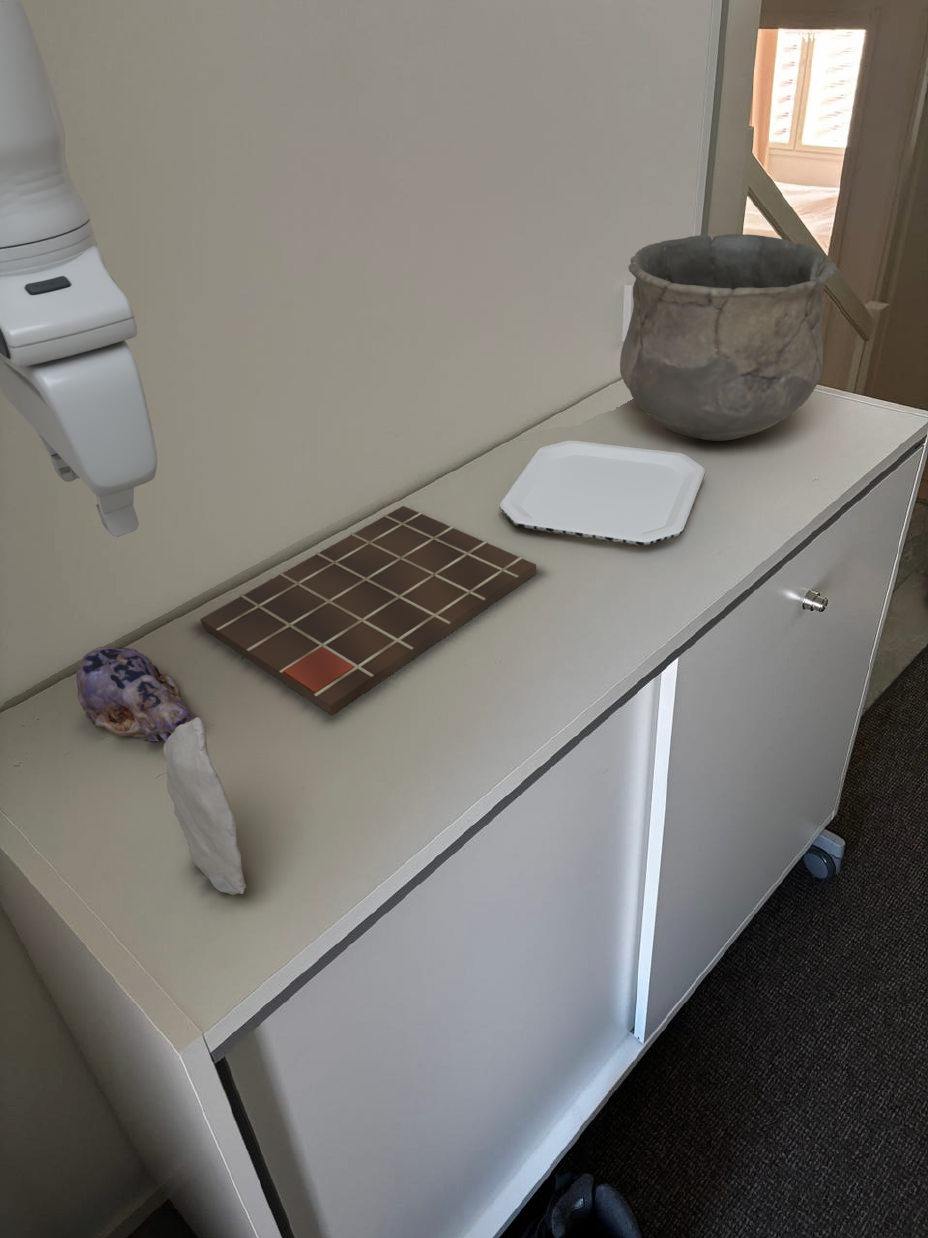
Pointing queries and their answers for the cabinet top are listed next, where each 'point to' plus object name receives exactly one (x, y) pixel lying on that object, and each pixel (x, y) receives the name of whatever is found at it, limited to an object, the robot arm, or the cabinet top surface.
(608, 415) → the cabinet top surface
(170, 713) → the skull
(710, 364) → the pot
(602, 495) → the plate
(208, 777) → the stone tool
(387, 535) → the board
